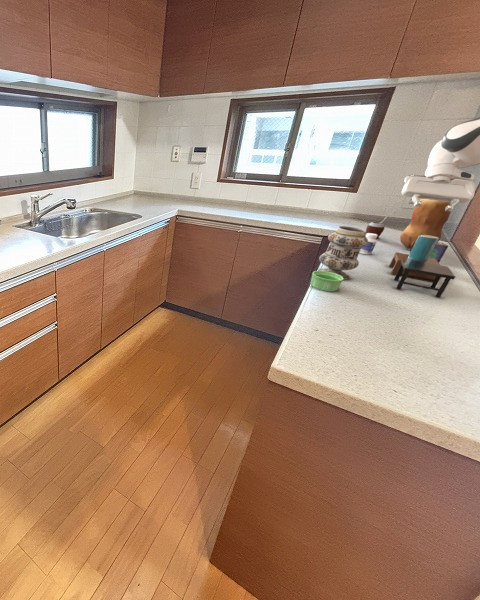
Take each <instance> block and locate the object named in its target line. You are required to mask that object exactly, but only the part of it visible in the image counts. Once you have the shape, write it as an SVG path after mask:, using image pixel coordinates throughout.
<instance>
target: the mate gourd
mask: <svg viewBox="0 0 480 600" xmlns="http://www.w3.org/2000/svg"><path fill="white" fill-rule="evenodd" d="M396 213H397V211H394V212H391V213H389V214H387V215H386V216H385V217H384V219H383V220H381V222H378V221H371V222H370V223H369V224H368V225H366V228H365V231H366V234H367V233H373V234H377V235H378V236H377V238H376V240H378V239H380V238H379V237H380V236H381V235H382V233H383V232H384V231H385V224H384V222H385V220H387V218H389V217H390V216H391V215H393V214H396Z"/></svg>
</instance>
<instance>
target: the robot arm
mask: <svg viewBox="0 0 480 600" xmlns="http://www.w3.org/2000/svg"><path fill="white" fill-rule="evenodd" d="M478 165H480V116H479V117H475V118H473V119H470V120H466V121H463V122H461V123H458V124H456V125H454V126H452V127H451V128H449V130H447V131H446V133H444V135H443V137H442V139H441V140H439V141H438V142H436V143H435V145H434V146H433V148H432V149H431V151H430V153H429V156H428V159H427V168H426V169H425V172H424V175H423V174H414V173H413V174H409V175H406V177H404V185H403V187H402V189H401V192H400V194H401V196H402V197H406V198H411V201H412V202H413V207H414V208H415V207H419V206H420V205H421V203H422V201H419V200H420V199H431V200H439V201H447V202H451V203H450V204H452V205H448V206H446V208H445V211H451V212H452V211H453V210H454V207H455V205H457V204H466V203H468V202H470V201H471V200H472V199H473V198H474V197H475V195H476V194H475V193H476V184H475V182H474V180H475V178H476V175H475V174H474V173H471V172H468V171H464V170H463V168H469V167H475V166H478Z"/></svg>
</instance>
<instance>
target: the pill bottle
mask: <svg viewBox="0 0 480 600" xmlns="http://www.w3.org/2000/svg"><path fill="white" fill-rule="evenodd" d="M377 236H378V235H377V234H373V233H367V234H366V237H367V239H368V244H367V245H366V246H364V247H362V248H361V250H360V252H359V254H362V255H372V253H373V251H374V248H375V246H376V245H377V242H378V239H376V238H377Z"/></svg>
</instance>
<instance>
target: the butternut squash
mask: <svg viewBox="0 0 480 600" xmlns="http://www.w3.org/2000/svg"><path fill="white" fill-rule="evenodd" d="M419 201H422V203H421V205H420V206H419V207H414V208H413V210H412V215H411V218H410V222H409V224H408V225H407V227H406V228H405V229H404V230H403V231H402V232H401V234H400V237H399V240H400V244H401V245H403V247H404V248H405V249H407V250H408V251H411V250H412V248H413V246H414V244H415V242H416V240H417V238H418V236H419V235H430V236H435V237H438V238H439V239H438V241H437V242H440V240H441V239H442V231H443V228H444V226H445V224H446V223H447V222H448V220H449V218H450V215H451V212H452V210H451V211H445V208H446V206H448V205H452V204H450V203H451V202H447V201H439V200H431V199H423V198H420V199H419Z"/></svg>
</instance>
